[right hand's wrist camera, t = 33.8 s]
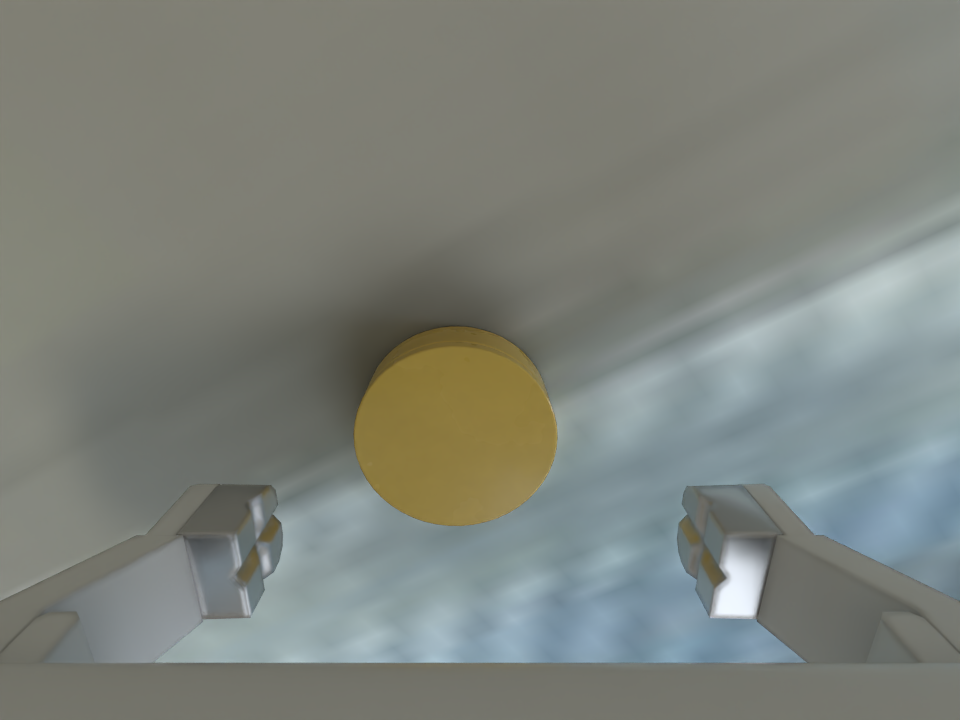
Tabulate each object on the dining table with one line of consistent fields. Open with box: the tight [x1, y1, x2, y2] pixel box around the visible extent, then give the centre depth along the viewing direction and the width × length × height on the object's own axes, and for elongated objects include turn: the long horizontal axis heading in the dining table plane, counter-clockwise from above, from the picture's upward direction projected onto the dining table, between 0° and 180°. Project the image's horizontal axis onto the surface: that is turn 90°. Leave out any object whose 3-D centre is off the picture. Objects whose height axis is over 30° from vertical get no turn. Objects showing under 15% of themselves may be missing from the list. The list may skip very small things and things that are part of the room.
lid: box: [354, 326, 557, 526], centre depth 13 cm, size 5×5×2 cm
